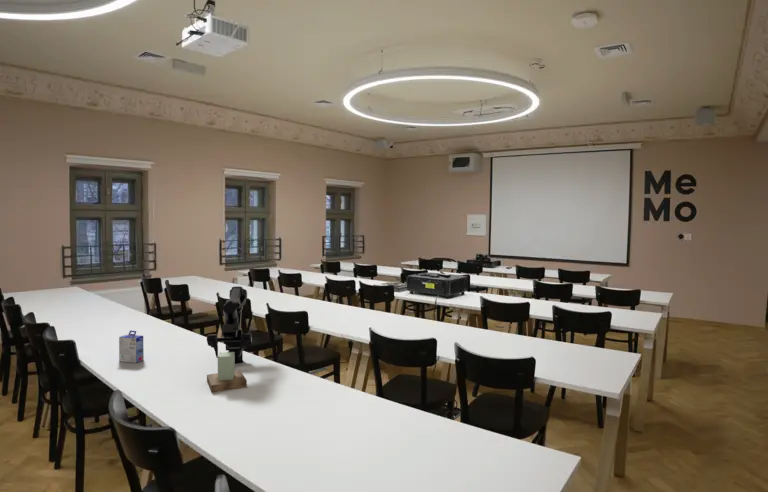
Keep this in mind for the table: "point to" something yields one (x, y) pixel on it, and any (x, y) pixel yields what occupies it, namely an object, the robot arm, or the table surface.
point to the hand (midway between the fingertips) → (227, 357)
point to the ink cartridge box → (131, 348)
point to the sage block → (226, 365)
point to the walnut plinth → (226, 382)
